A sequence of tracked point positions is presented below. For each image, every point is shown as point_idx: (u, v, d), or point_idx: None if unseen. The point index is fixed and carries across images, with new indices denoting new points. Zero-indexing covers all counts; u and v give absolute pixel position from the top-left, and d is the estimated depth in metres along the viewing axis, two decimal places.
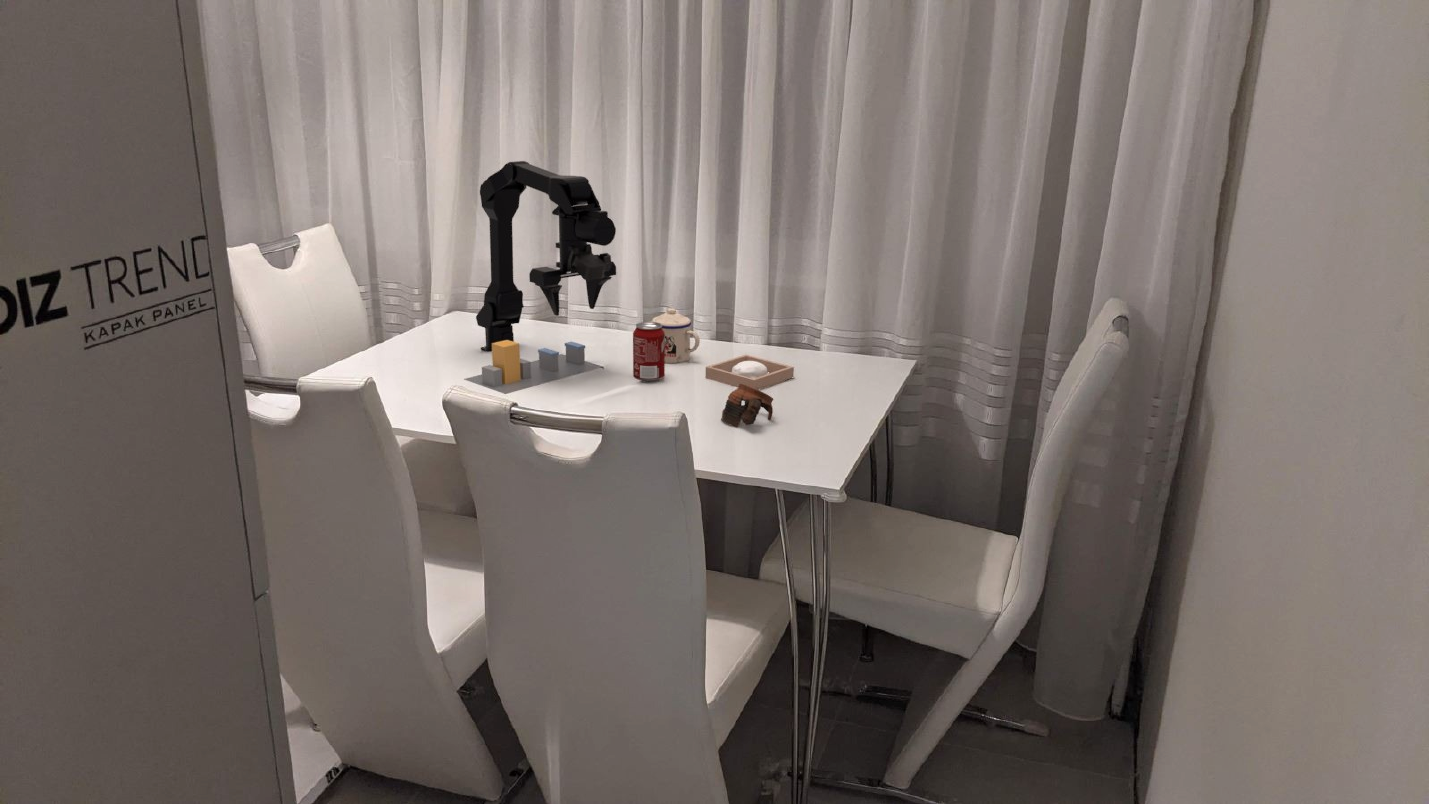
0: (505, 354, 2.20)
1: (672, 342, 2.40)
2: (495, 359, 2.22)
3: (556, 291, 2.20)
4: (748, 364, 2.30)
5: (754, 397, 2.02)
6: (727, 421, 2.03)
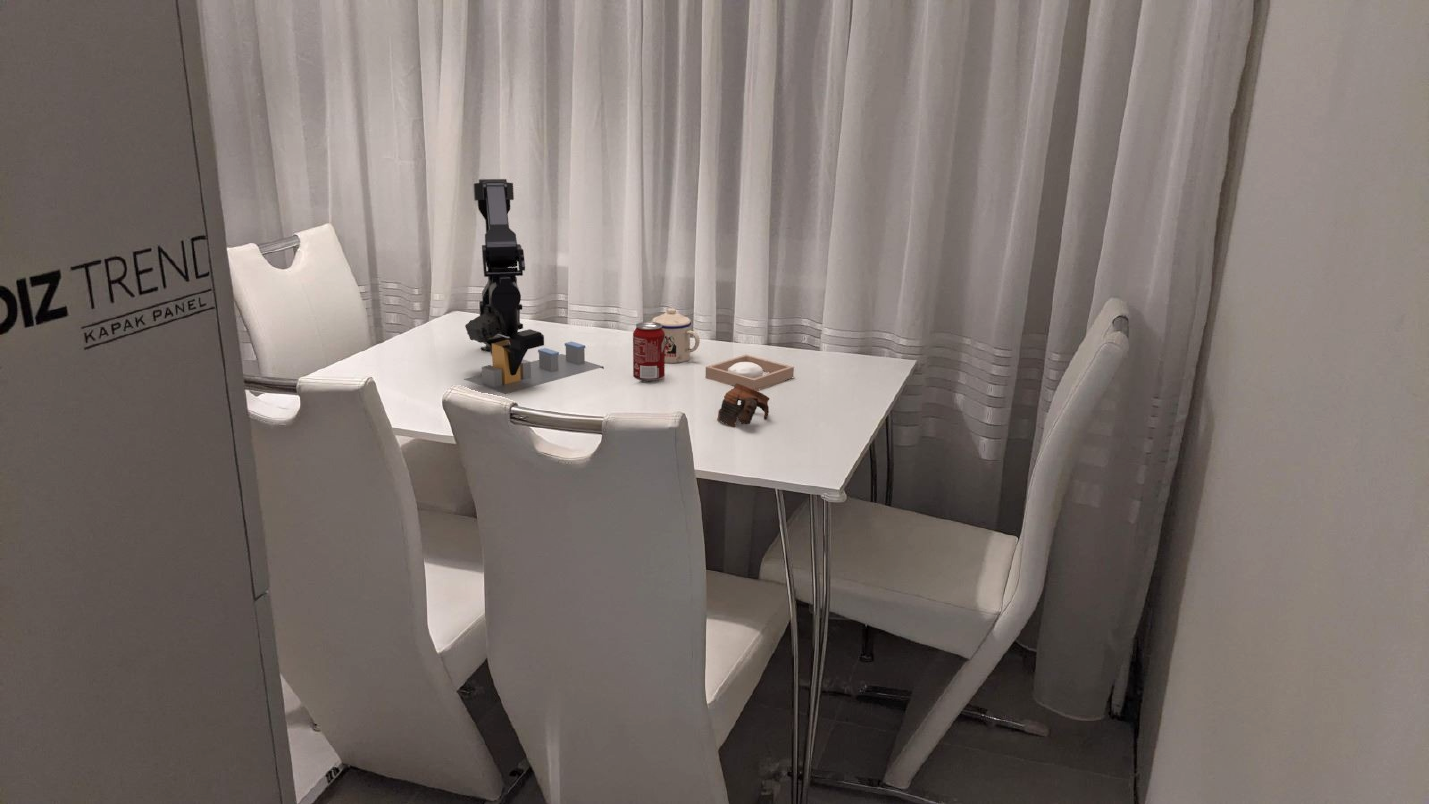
0: (505, 354, 2.20)
1: (672, 342, 2.40)
2: (495, 359, 2.22)
3: (489, 346, 2.23)
4: (744, 365, 2.29)
5: (750, 397, 2.02)
6: (723, 421, 2.03)
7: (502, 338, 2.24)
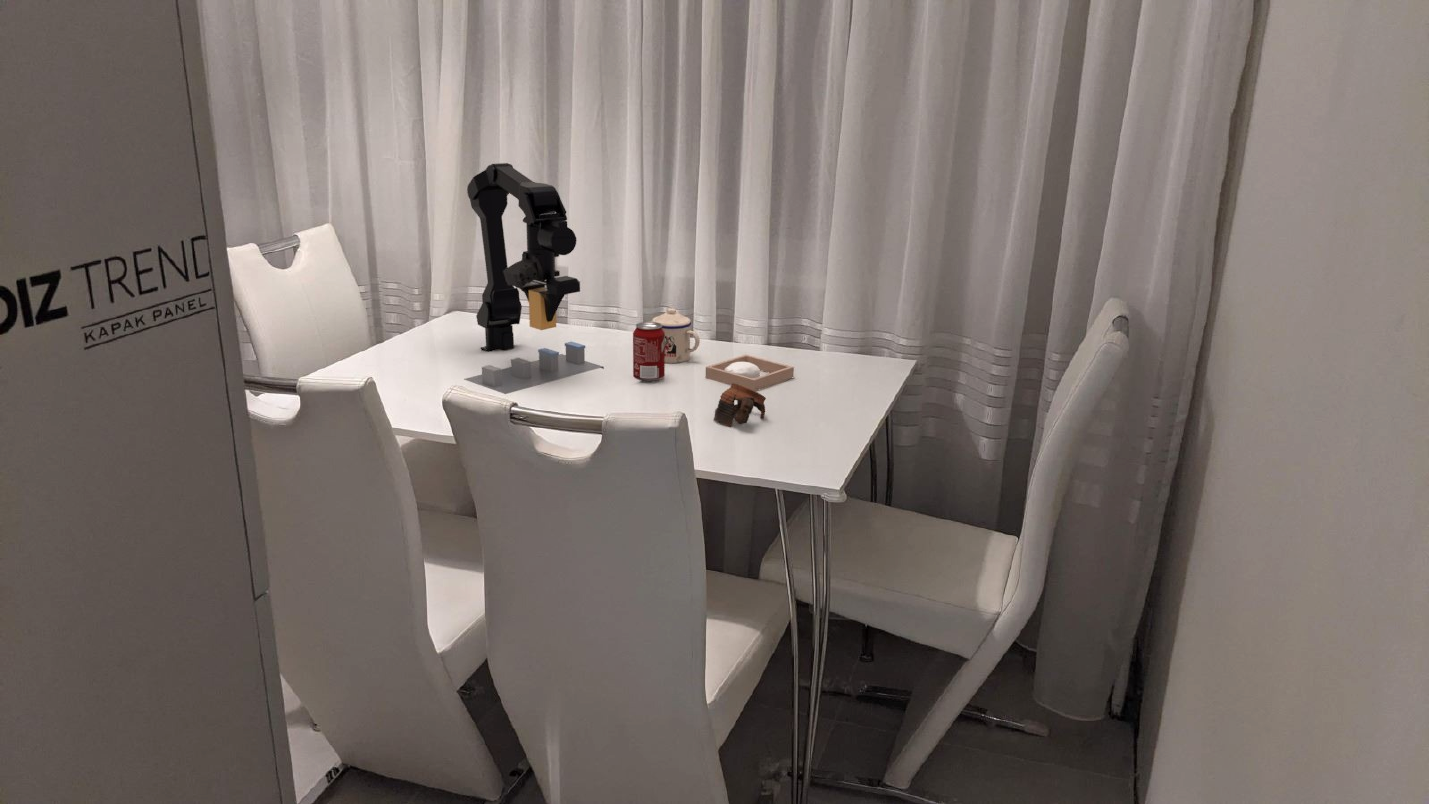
0: (541, 300, 2.24)
1: (672, 342, 2.40)
2: (531, 306, 2.26)
3: (526, 292, 2.27)
4: (741, 365, 2.29)
5: (747, 396, 2.03)
6: (720, 420, 2.04)
7: (539, 285, 2.28)
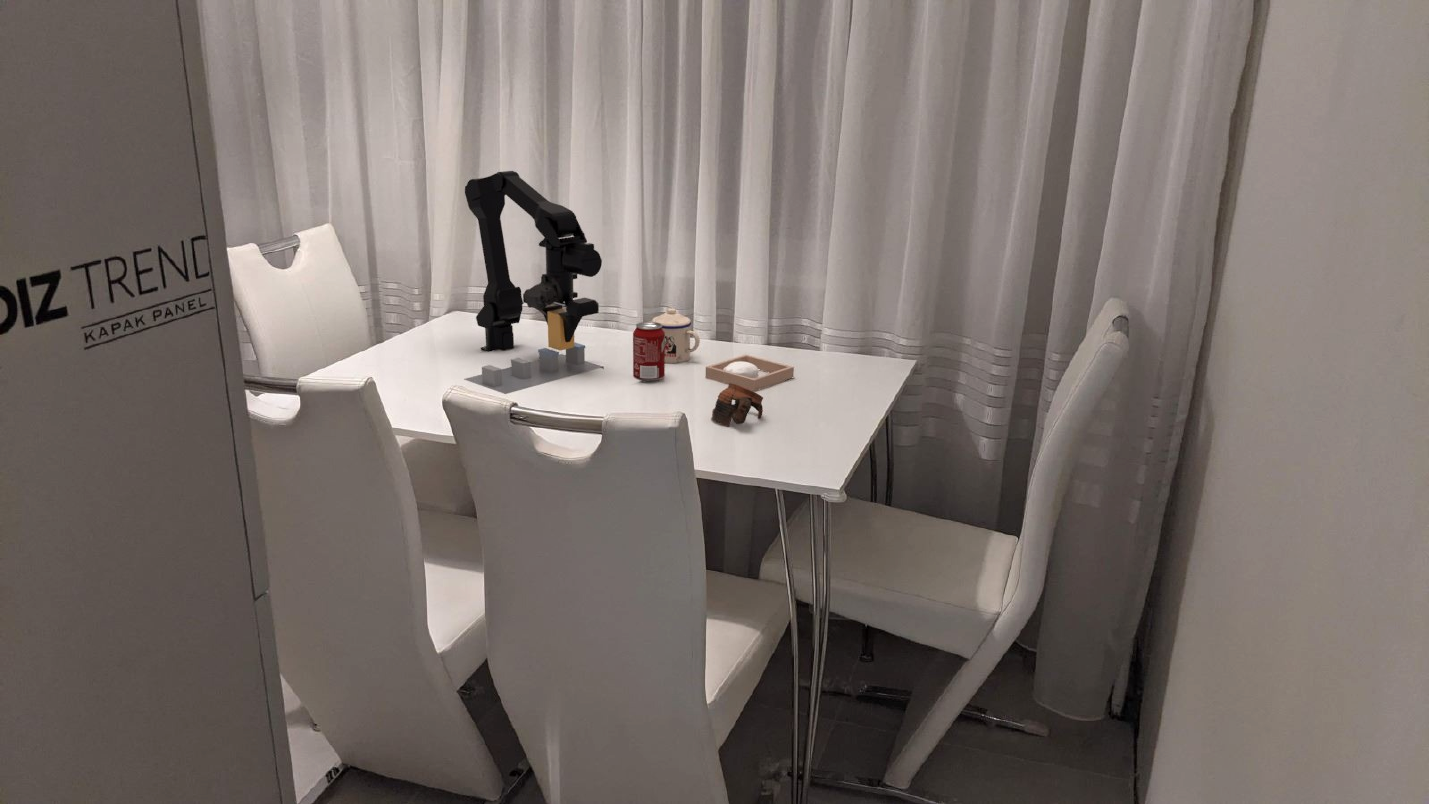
0: (560, 322, 2.29)
1: (672, 342, 2.40)
2: (550, 327, 2.31)
3: (545, 314, 2.32)
4: (739, 365, 2.29)
5: (744, 396, 2.03)
6: (717, 420, 2.04)
7: (557, 307, 2.34)
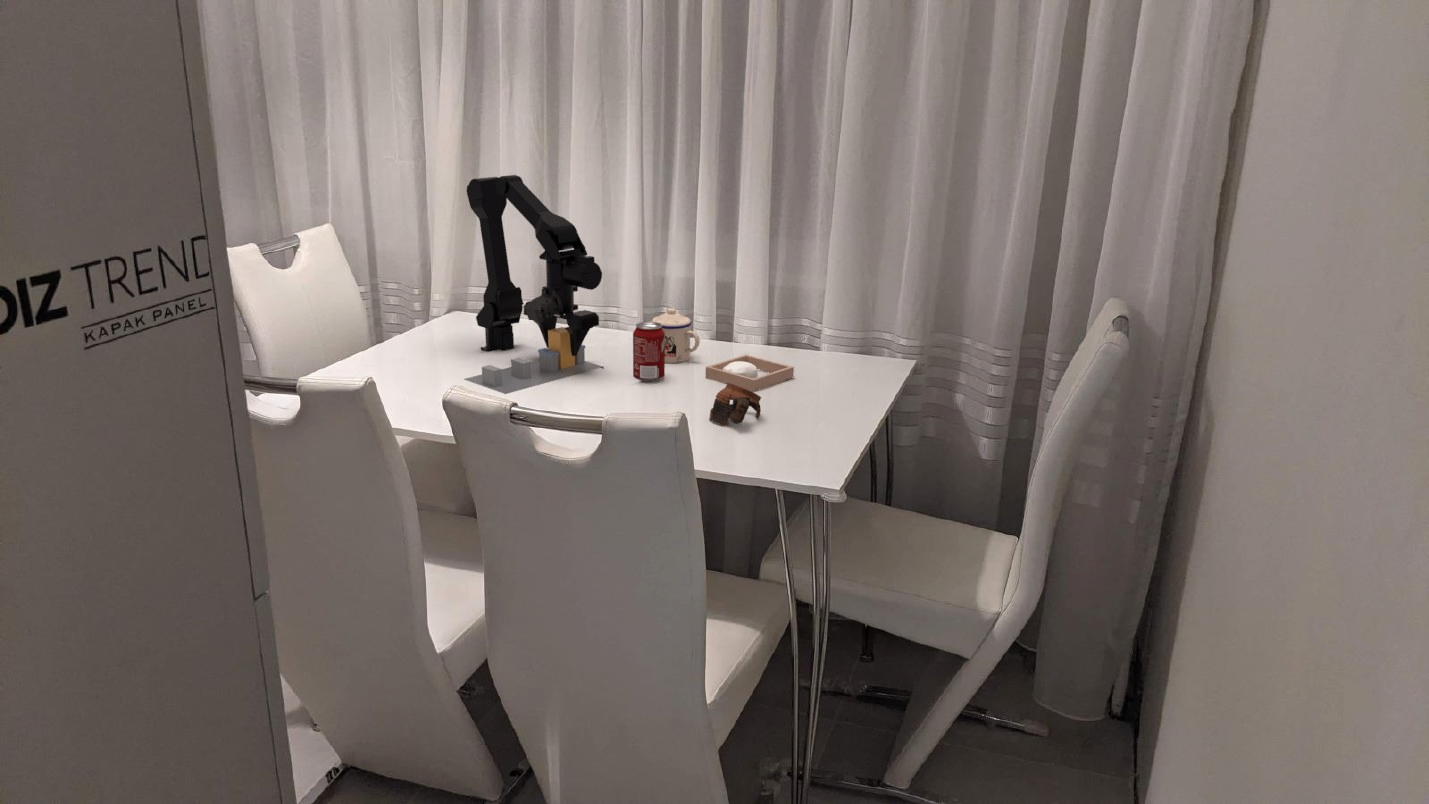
0: (561, 340, 2.30)
1: (672, 342, 2.40)
2: (551, 345, 2.33)
3: (540, 324, 2.34)
4: (739, 365, 2.30)
5: (742, 396, 2.03)
6: (715, 420, 2.04)
7: (551, 317, 2.36)
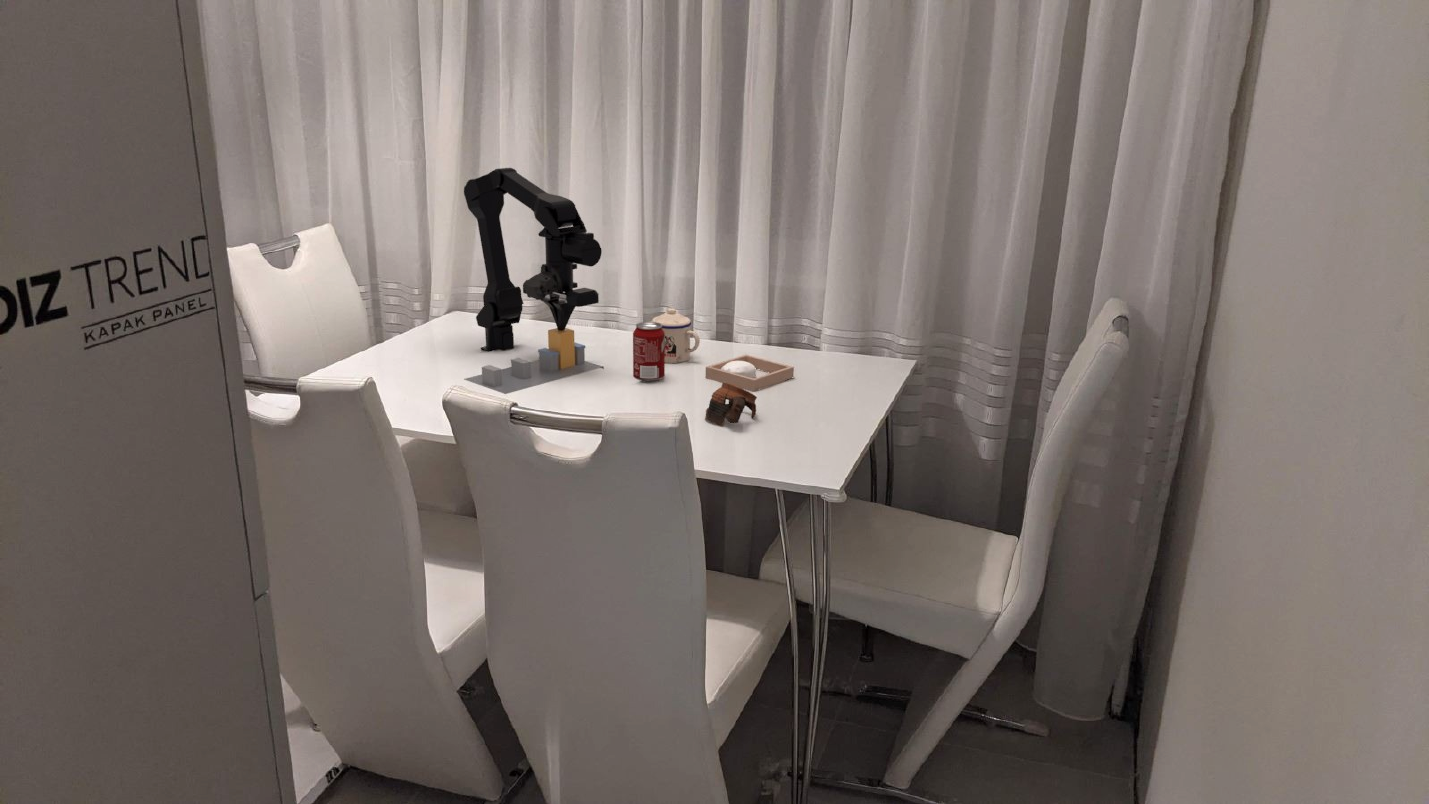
0: (561, 341, 2.30)
1: (672, 342, 2.40)
2: (551, 345, 2.33)
3: (551, 306, 2.30)
4: (737, 364, 2.30)
5: (738, 396, 2.03)
6: (711, 420, 2.04)
7: None
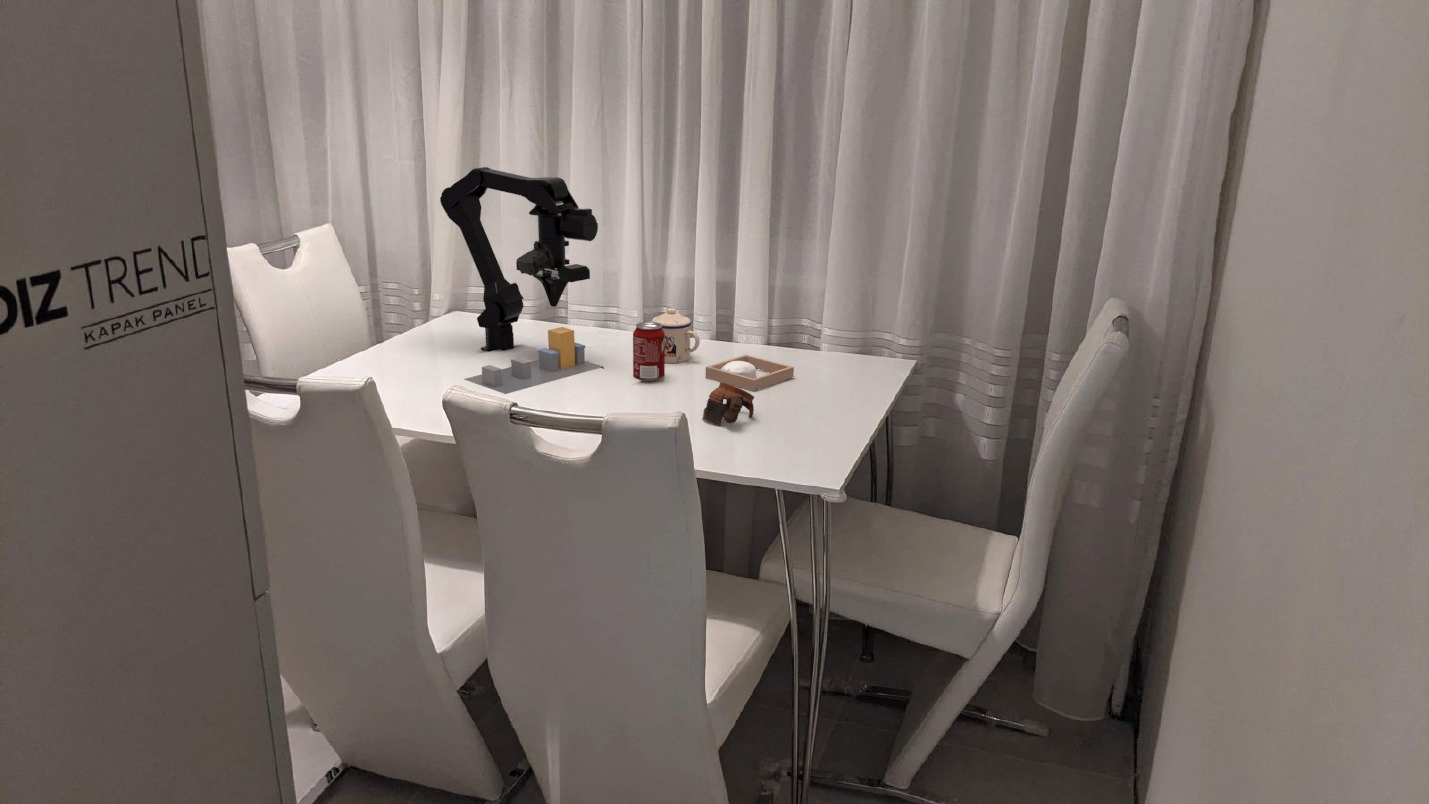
0: (561, 340, 2.30)
1: (672, 342, 2.40)
2: (551, 345, 2.33)
3: (543, 282, 2.36)
4: (737, 364, 2.30)
5: (735, 395, 2.03)
6: (709, 420, 2.04)
7: None
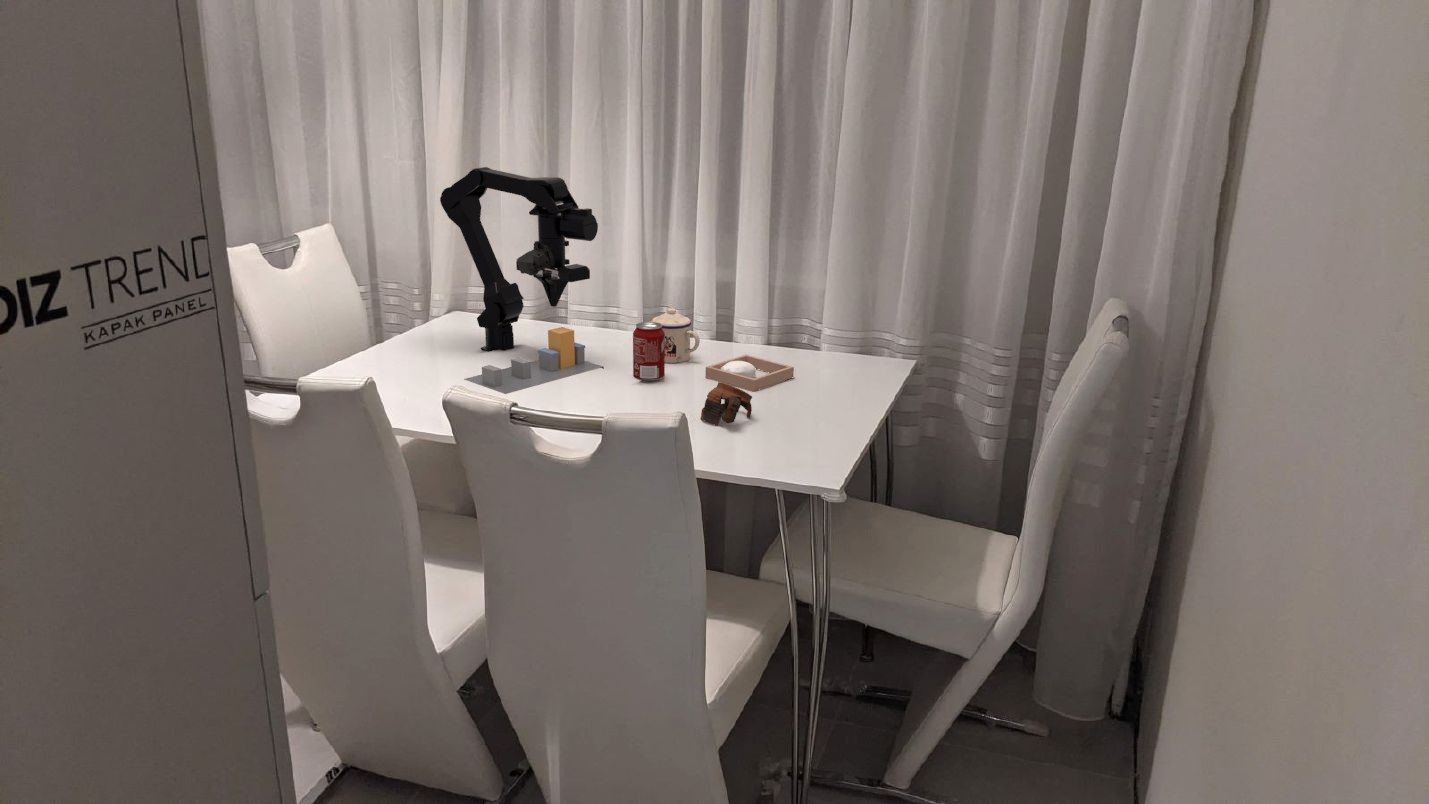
0: (561, 340, 2.30)
1: (672, 342, 2.40)
2: (551, 345, 2.33)
3: (543, 282, 2.36)
4: (737, 364, 2.30)
5: (734, 395, 2.03)
6: (707, 420, 2.04)
7: None
